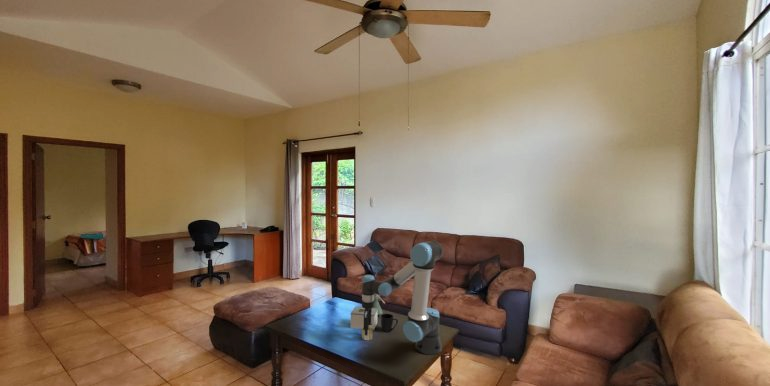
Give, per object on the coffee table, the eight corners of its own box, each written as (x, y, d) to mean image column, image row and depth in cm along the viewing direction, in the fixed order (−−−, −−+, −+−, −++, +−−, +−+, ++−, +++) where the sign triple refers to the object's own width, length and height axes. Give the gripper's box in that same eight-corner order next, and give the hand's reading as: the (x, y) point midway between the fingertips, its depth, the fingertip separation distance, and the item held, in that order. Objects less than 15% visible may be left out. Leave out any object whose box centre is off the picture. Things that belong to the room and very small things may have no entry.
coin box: (377, 322, 224) (377, 308, 224) (373, 330, 212) (374, 315, 212) (354, 320, 227) (355, 306, 226) (350, 328, 215) (350, 313, 215)
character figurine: (362, 315, 236) (363, 291, 236) (367, 311, 244) (368, 288, 243) (382, 319, 229) (382, 294, 229) (386, 315, 237) (387, 291, 237)
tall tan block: (372, 337, 202) (372, 328, 202) (371, 339, 199) (371, 330, 199) (363, 336, 203) (363, 327, 203) (361, 339, 200) (362, 329, 200)
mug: (393, 335, 205) (394, 320, 205) (378, 331, 211) (378, 316, 211) (400, 331, 212) (400, 316, 212) (384, 326, 218) (385, 312, 218)
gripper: (365, 295, 210) (364, 330, 210) (358, 305, 192) (358, 344, 192) (376, 296, 209) (375, 331, 209) (371, 306, 191) (370, 345, 191)
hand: (367, 337), depth 201 cm, fingers open, 5 cm apart
